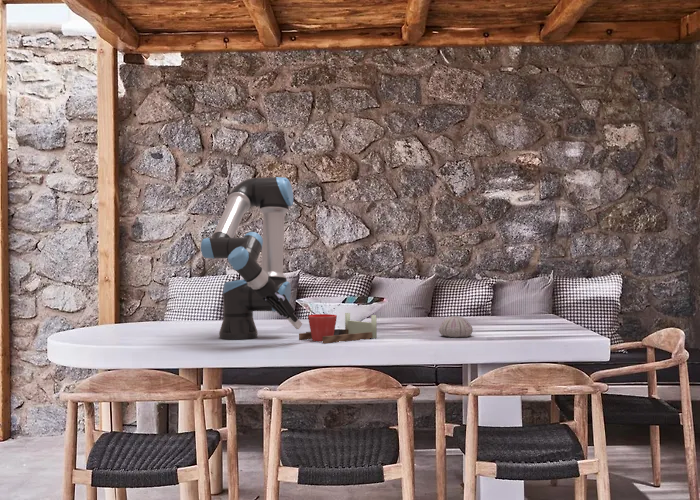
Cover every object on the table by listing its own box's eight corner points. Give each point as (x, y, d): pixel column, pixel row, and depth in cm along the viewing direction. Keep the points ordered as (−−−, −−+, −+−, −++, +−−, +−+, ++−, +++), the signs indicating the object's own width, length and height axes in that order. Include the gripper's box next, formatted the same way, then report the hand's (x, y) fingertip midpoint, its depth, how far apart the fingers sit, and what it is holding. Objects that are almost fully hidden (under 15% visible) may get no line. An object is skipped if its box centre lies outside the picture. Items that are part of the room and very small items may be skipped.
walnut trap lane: (324, 343, 292) (324, 336, 293) (294, 339, 308) (294, 332, 308) (375, 338, 308) (375, 331, 308) (344, 334, 323) (344, 328, 323)
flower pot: (333, 342, 296) (333, 316, 296) (305, 342, 298) (305, 316, 298) (339, 339, 307) (339, 314, 307) (312, 338, 309) (311, 314, 309)
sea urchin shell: (463, 334, 321) (463, 314, 321) (478, 337, 308) (478, 317, 308) (433, 335, 317) (433, 315, 317) (447, 339, 304) (447, 318, 304)
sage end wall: (373, 338, 306) (373, 315, 306) (344, 335, 321) (344, 313, 321) (377, 338, 307) (377, 315, 307) (348, 334, 322) (347, 312, 322)
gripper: (245, 290, 288) (283, 332, 298) (264, 291, 278) (303, 335, 288) (257, 275, 292) (295, 318, 302) (277, 275, 281) (315, 320, 292)
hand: (299, 326), depth 295 cm, fingers closed
